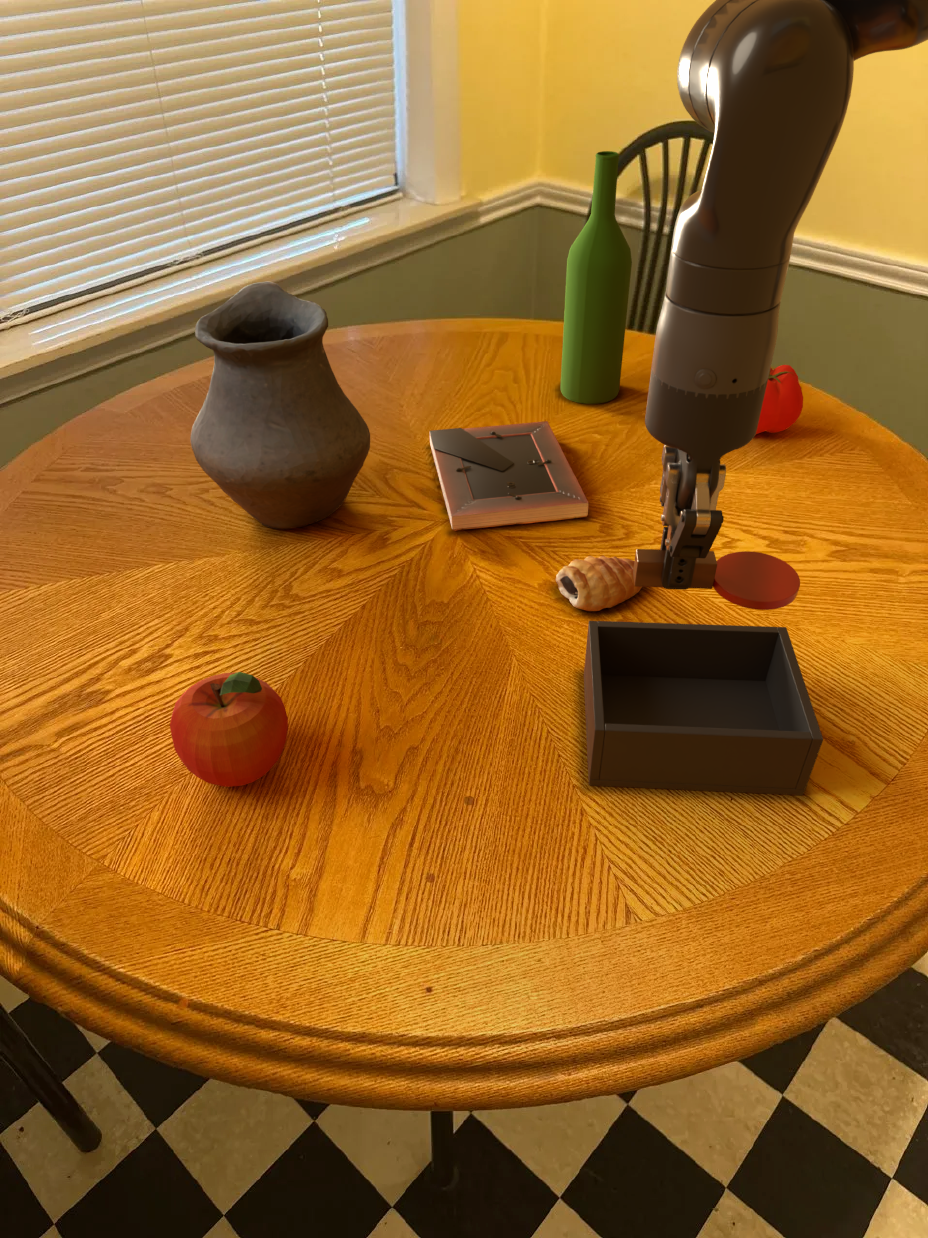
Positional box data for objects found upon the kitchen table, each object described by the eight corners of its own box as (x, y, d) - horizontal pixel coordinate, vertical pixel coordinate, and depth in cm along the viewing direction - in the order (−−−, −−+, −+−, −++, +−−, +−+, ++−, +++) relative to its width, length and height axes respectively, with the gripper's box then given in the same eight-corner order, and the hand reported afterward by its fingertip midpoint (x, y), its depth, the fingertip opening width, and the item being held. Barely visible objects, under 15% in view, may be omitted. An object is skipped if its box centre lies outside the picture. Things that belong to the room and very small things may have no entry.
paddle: (788, 560, 70) (794, 535, 68) (806, 611, 64) (814, 586, 63) (630, 555, 70) (633, 531, 69) (636, 605, 65) (640, 580, 64)
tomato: (702, 427, 121) (712, 368, 116) (746, 403, 127) (758, 346, 121) (768, 454, 115) (781, 393, 110) (811, 427, 121) (827, 368, 115)
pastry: (623, 563, 97) (627, 535, 94) (657, 597, 92) (662, 568, 89) (550, 585, 94) (551, 556, 91) (581, 621, 89) (584, 592, 87)
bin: (770, 681, 81) (786, 626, 77) (803, 795, 71) (823, 739, 67) (583, 674, 83) (588, 620, 78) (588, 785, 72) (594, 729, 68)
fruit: (205, 719, 79) (180, 636, 73) (306, 725, 78) (290, 642, 72) (166, 802, 72) (135, 718, 65) (278, 810, 71) (257, 726, 65)
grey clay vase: (207, 565, 98) (152, 352, 82) (211, 472, 114) (165, 280, 99) (386, 541, 101) (367, 331, 85) (364, 453, 117) (345, 264, 102)
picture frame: (430, 446, 119) (452, 532, 102) (429, 430, 117) (451, 514, 100) (547, 435, 120) (587, 518, 104) (547, 419, 119) (588, 500, 102)
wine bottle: (621, 381, 134) (645, 146, 113) (616, 406, 127) (640, 161, 106) (564, 377, 135) (577, 144, 115) (556, 401, 129) (568, 159, 108)
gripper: (790, 413, 51) (736, 636, 62) (750, 327, 61) (710, 530, 73) (662, 411, 51) (631, 632, 62) (644, 325, 62) (620, 527, 73)
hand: (673, 576), depth 67 cm, fingers closed on paddle, 2 cm apart
